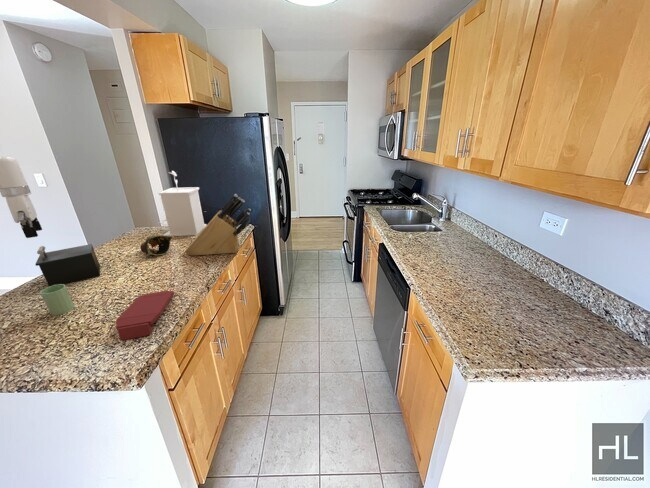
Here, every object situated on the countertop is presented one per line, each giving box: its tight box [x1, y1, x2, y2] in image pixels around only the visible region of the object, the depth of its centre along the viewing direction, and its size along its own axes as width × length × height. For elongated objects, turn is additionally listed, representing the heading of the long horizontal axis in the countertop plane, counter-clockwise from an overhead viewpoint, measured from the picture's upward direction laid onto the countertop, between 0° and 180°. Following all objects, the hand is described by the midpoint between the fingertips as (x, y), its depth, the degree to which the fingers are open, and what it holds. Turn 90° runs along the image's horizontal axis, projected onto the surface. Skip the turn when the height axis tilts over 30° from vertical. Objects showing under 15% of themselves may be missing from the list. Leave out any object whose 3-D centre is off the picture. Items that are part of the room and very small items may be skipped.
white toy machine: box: [158, 170, 207, 237], centre depth 172 cm, size 24×28×40 cm
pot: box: [139, 234, 175, 256], centre depth 142 cm, size 17×11×18 cm
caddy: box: [38, 245, 101, 287], centre depth 117 cm, size 17×14×11 cm
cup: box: [39, 284, 75, 316], centre depth 94 cm, size 6×6×9 cm
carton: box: [115, 290, 175, 341], centre depth 92 cm, size 12×5×25 cm
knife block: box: [184, 193, 252, 256], centre depth 139 cm, size 11×35×31 cm, turn 99°
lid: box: [35, 243, 93, 267], centre depth 114 cm, size 17×14×5 cm
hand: (34, 233), depth 105 cm, fingers open, 9 cm apart
